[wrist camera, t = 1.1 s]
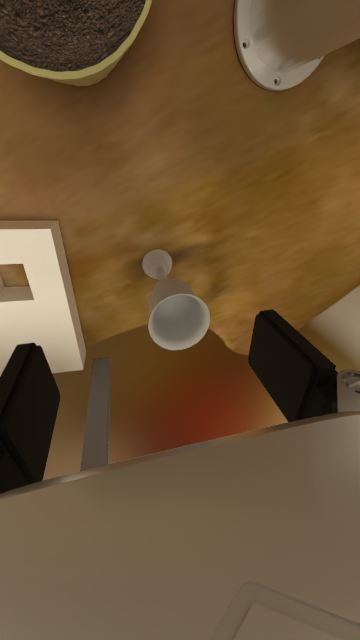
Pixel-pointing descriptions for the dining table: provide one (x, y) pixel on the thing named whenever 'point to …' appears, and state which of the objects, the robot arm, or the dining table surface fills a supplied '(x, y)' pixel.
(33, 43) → the potted cactus
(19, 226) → the socket block
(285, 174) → the dining table surface
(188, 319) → the chalice
